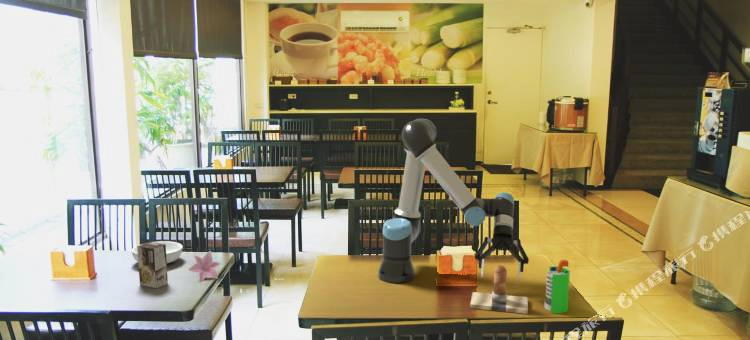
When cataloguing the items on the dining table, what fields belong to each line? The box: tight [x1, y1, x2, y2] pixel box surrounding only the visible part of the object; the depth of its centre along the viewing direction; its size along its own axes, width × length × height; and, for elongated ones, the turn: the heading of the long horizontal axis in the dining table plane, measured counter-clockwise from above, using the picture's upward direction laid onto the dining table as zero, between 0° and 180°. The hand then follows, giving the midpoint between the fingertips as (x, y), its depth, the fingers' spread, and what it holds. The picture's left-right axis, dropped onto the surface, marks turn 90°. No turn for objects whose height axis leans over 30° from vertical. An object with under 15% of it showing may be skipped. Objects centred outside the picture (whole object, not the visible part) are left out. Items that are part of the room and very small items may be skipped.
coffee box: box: [136, 241, 169, 289], centre depth 225 cm, size 9×6×16 cm
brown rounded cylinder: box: [491, 265, 508, 303], centre depth 208 cm, size 5×5×13 cm
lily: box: [188, 250, 221, 282], centre depth 235 cm, size 12×12×10 cm
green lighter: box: [544, 259, 570, 314], centre depth 205 cm, size 9×8×18 cm
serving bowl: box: [131, 240, 184, 265], centre depth 252 cm, size 21×21×7 cm
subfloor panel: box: [469, 291, 529, 315], centre depth 210 cm, size 20×12×2 cm, turn 77°
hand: (500, 277), depth 216 cm, fingers open, 13 cm apart
